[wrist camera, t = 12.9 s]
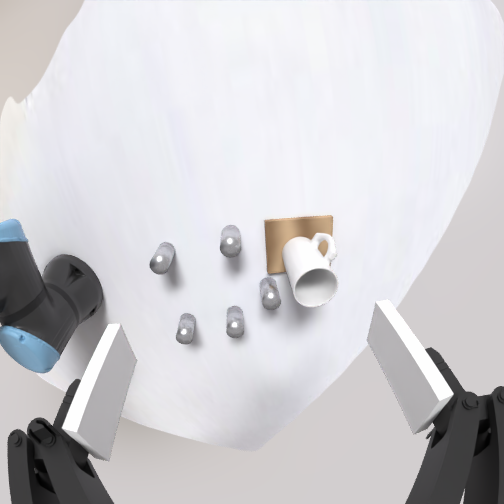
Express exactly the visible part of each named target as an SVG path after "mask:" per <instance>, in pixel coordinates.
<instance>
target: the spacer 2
mask: <svg viewBox="0 0 504 504" xmlns="http://www.w3.org/2000/svg"><path fill="white" fill-rule="evenodd" d="M194 326H195V317H194V316H193V315H191V314H189V313H185V314H183V315H181V317H180V322H179V326H178V330H177V335H176V340H177V341H178V342H179V343H181V344H190V343H191V342H192V338H193V332H194Z"/></svg>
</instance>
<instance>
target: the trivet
mask: <svg viewBox="0 0 504 504" xmlns="http://www.w3.org/2000/svg"><path fill="white" fill-rule="evenodd" d="M332 231H333V217H332V216H331V215H328V216H313V217H298V218H284V219H272V220H265V236H266V255H267V272H268V274H270V273H280V272H287V271H286V268H285V265H284V261H283V257H282V251H283V248H284V246H285V244H286V243H287V242H288V241H289V240H291V239H293V238H295V237H306V238H308V239H310V240H312V239H313V237H314V236H315V234H316V233H325V234H329V235H330V236H332ZM318 250H319V251H320V253H321V254H322V255H323V257H324V256H325V255H326V253H327V250H328V242H327V241H326V240H324V241H322V242H321V243H320V244H319V246H318ZM330 266H331V262H330Z"/></svg>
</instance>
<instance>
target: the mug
mask: <svg viewBox="0 0 504 504" xmlns="http://www.w3.org/2000/svg"><path fill="white" fill-rule="evenodd" d="M324 240H326V241H327V242H328V250H327V253H326V255H325V256H324V257H323V255H322V254H321V253H320V251H319V250H318V246H319V244H320V243H321V242H322V241H324ZM336 256H337V253H336V246H335V241H334V239H333V237H332V236H330V235H329V234H325V233H316V234H315V236H314V237H313V239H312V240H310V239H308V238H306V237H295V238H293V239H291V240H289V241H288V242H287V243H286V244H285V246H284V248H283V251H282V257H283V261H284V265H285V268H286V271H287V275H288V278H289V281H290V285H291V288H292V291H293V294H294V297H295V299H296V301H297V302H298V303H299V304H301V305H302V306H305V307H318V306H321V305H324V304H325V303H327V302H328V301H330V300H331V299H332V298H333V297H334V295H335V294H336V292H337V289H338V278H337V276H336V274H335V273H334V271H333V270H332V268H331V267H330V262H331V261H332V260H334V259H335V257H336Z"/></svg>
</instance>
